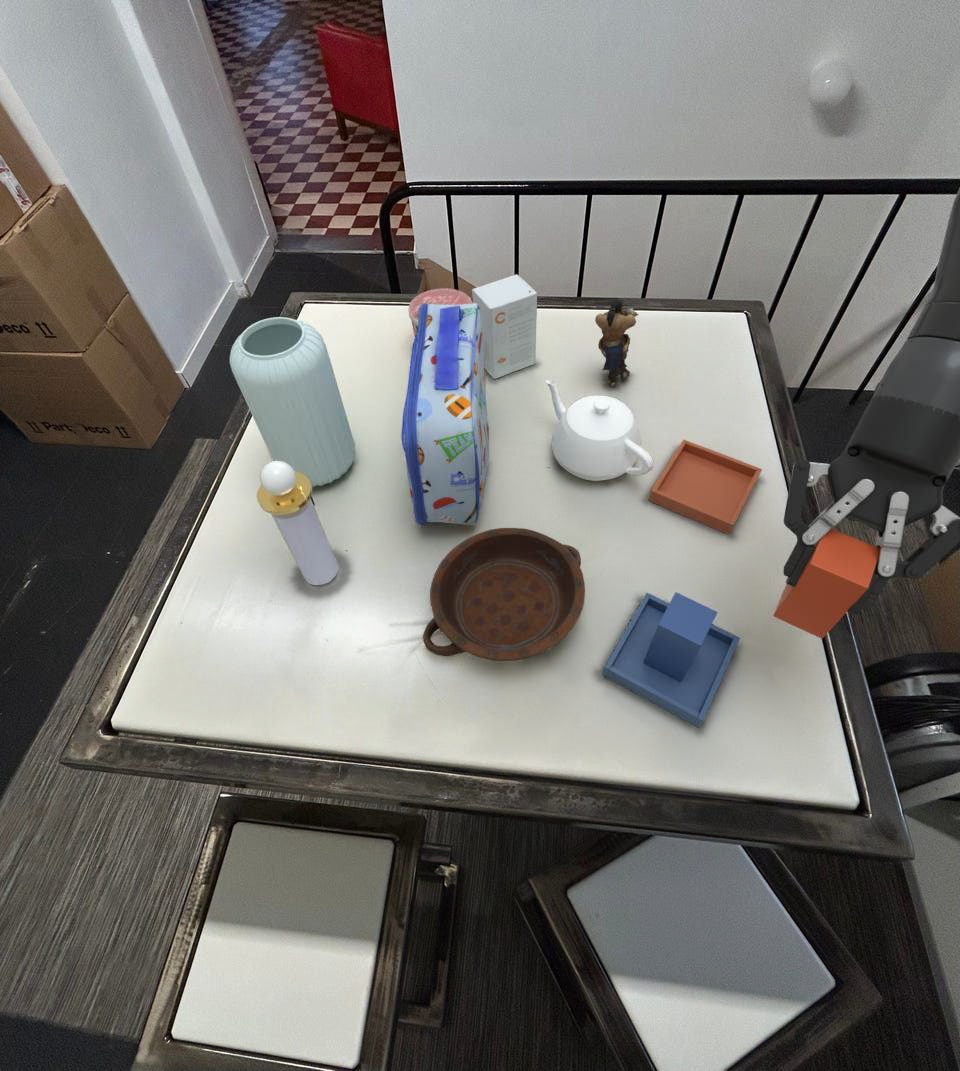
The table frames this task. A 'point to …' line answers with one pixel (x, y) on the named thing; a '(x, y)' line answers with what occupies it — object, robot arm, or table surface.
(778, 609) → the terracotta block
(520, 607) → the dish
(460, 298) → the container
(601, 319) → the figurine
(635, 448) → the teapot
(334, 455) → the vase
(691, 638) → the blue block
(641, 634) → the blue tray
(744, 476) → the terracotta tray
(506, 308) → the small box
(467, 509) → the lunch box
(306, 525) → the perfume bottle
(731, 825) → the table surface
